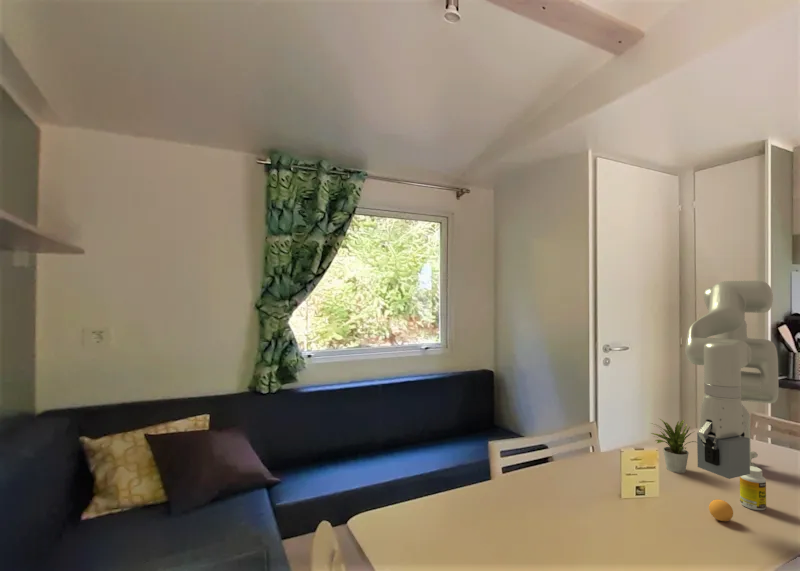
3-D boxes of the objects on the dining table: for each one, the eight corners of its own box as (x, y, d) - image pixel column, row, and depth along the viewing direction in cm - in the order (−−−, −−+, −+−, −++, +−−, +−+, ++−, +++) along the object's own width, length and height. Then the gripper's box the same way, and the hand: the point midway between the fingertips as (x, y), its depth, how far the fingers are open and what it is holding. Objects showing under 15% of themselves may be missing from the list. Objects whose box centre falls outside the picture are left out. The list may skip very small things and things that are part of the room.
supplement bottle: (761, 513, 115) (761, 474, 115) (736, 504, 120) (735, 467, 120) (769, 507, 118) (769, 469, 118) (744, 499, 123) (744, 462, 123)
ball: (741, 520, 110) (722, 519, 114) (733, 498, 111) (715, 497, 116) (726, 523, 108) (708, 521, 112) (719, 500, 110) (701, 499, 114)
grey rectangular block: (717, 462, 116) (717, 429, 116) (750, 473, 109) (749, 438, 109) (697, 466, 113) (697, 432, 113) (729, 478, 106) (728, 442, 106)
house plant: (657, 456, 154) (656, 409, 154) (704, 467, 144) (704, 417, 145) (645, 468, 144) (644, 418, 144) (694, 481, 134) (694, 427, 134)
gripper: (729, 385, 118) (730, 451, 117) (683, 391, 111) (684, 460, 111) (761, 391, 111) (762, 461, 110) (714, 397, 104) (715, 472, 104)
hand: (723, 460), depth 111 cm, fingers closed on grey rectangular block, 7 cm apart
